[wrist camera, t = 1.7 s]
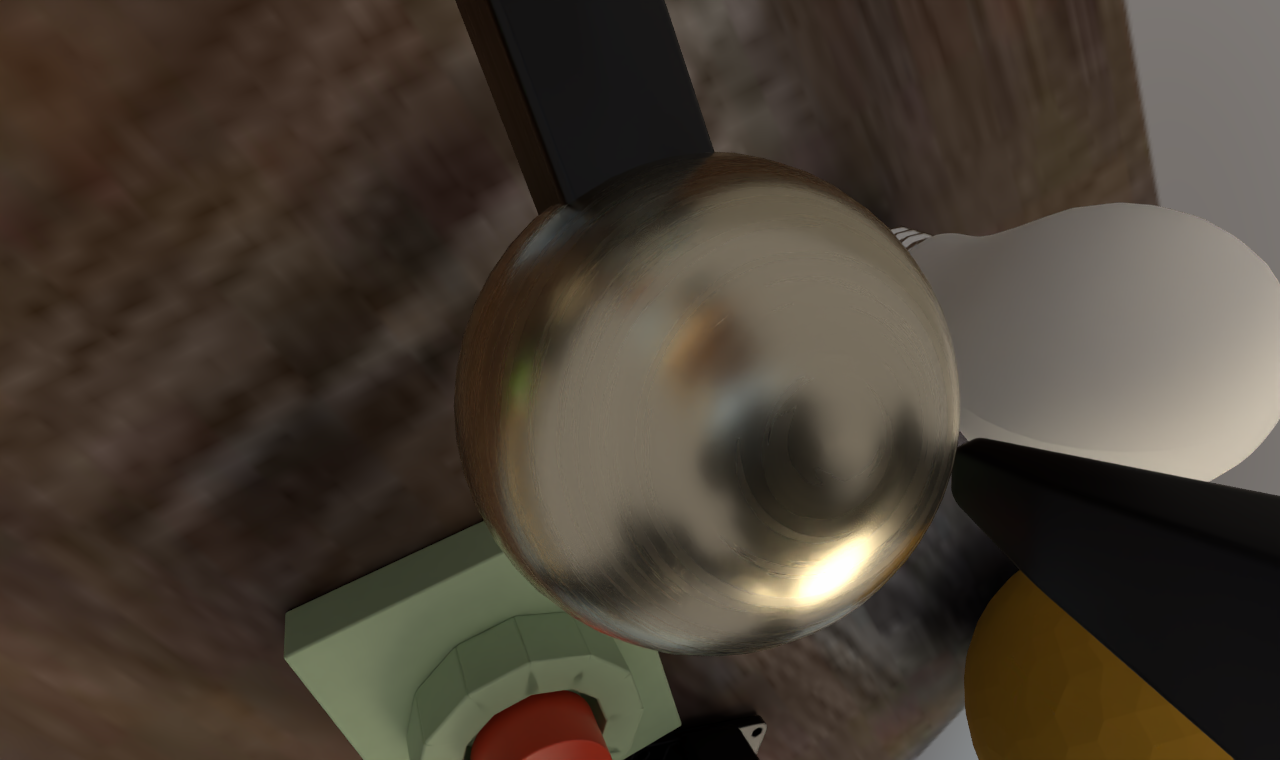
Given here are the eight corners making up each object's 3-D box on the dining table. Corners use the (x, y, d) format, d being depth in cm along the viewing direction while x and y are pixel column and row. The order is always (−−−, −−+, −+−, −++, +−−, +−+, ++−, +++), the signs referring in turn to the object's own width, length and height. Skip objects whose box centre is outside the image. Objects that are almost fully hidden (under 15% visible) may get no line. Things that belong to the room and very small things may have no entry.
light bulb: (794, 394, 23) (1118, 623, 14) (760, 206, 19) (1164, 345, 10) (948, 313, 24) (1334, 471, 15) (943, 124, 21) (1438, 182, 12)
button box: (662, 689, 26) (706, 769, 23) (436, 817, 24) (454, 923, 21) (588, 471, 21) (634, 539, 18) (284, 612, 18) (280, 717, 15)
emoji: (1091, 462, 37) (1051, 705, 40) (902, 515, 29) (869, 814, 32) (1572, 589, 24) (1460, 936, 27) (1475, 750, 16) (1329, 1223, 19)
